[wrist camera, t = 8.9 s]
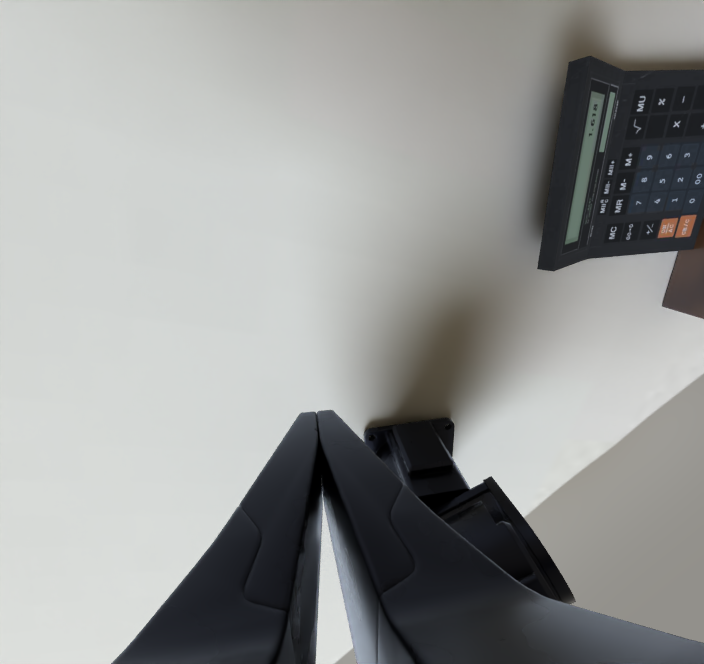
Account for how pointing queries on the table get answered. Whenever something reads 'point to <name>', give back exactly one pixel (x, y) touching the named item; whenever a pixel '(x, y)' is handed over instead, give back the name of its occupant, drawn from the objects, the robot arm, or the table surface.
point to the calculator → (625, 164)
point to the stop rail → (688, 280)
